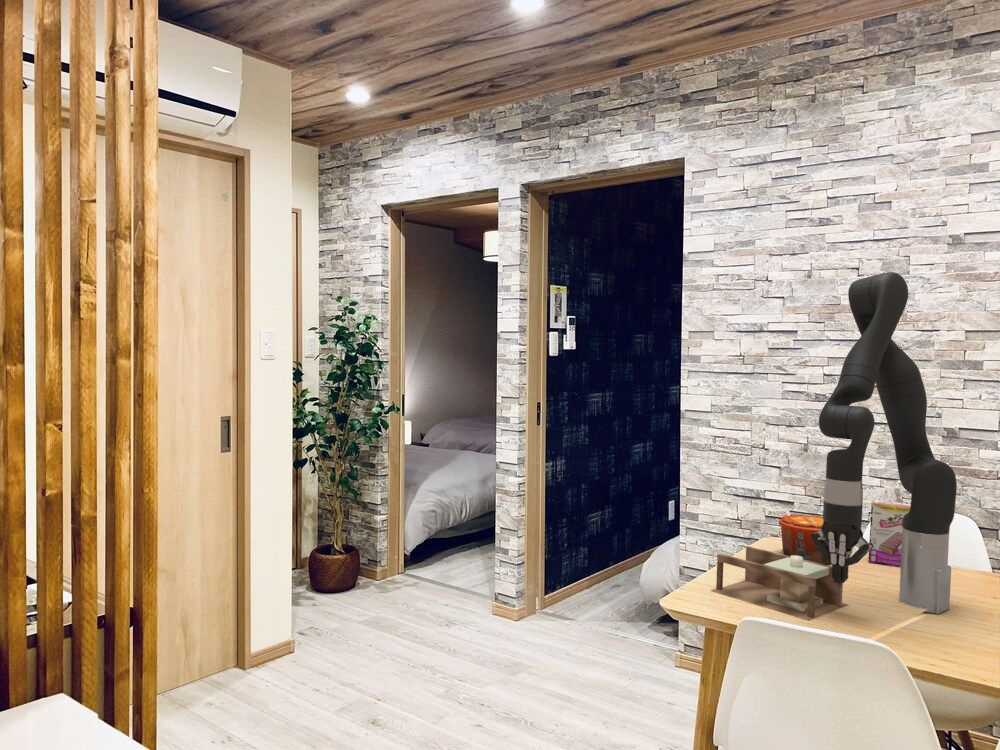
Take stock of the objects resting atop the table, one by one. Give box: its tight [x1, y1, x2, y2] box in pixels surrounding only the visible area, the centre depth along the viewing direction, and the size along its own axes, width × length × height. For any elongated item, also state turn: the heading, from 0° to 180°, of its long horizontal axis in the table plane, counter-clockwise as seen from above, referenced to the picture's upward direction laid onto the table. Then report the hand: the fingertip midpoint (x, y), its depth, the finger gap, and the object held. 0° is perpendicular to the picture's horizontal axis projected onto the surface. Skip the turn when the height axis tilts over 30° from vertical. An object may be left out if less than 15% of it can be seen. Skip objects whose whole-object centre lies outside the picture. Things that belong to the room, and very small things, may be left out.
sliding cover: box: [763, 555, 829, 579], centre depth 175 cm, size 10×10×4 cm
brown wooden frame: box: [711, 546, 850, 622], centre depth 179 cm, size 24×17×9 cm
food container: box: [778, 513, 832, 566], centre depth 216 cm, size 16×16×11 cm
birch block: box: [780, 578, 809, 604], centre depth 176 cm, size 5×5×6 cm
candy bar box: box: [868, 499, 911, 567], centre depth 212 cm, size 11×5×16 cm, turn 59°
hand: (839, 582), depth 168 cm, fingers closed
